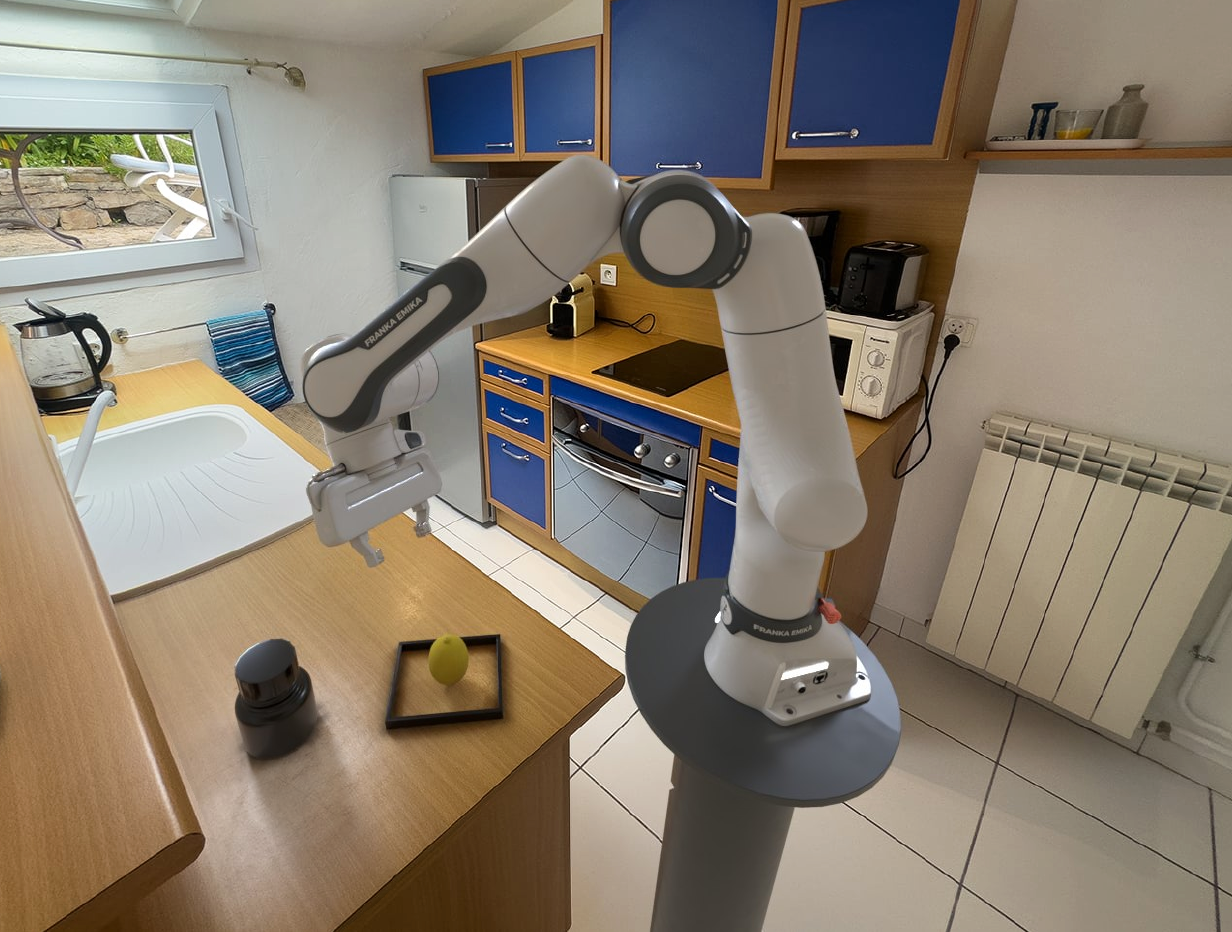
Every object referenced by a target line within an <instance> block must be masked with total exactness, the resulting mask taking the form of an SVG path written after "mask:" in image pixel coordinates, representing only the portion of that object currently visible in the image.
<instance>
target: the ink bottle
mask: <svg viewBox="0 0 1232 932" xmlns="http://www.w3.org/2000/svg"><path fill="white" fill-rule="evenodd" d="M298 659H299V658H298V655H297V649H296V646H295V645H293V643H292V642H291V641H290V640H287V639H283V638H269V639H267V640H263V641H259V642H258V643H256V644H254V645H253V646H251V647H248V648H247V650H245V651H244V652H243V654H241V655H240V656H239V657H238V660H237V661H236V663H235V665H234V678H235V681H236V684H237V688H238V693H237V696H236V698H235V700H234V701H235V703H234V714H235V718H236V721H237V725H238V729H239V732H240V736H241V739H242V742H243V746H244V749H245V750H246V752H247V753H248V754H249V755H250V756H251V757H253V758H255V759H259V760H272V759H277V758H281V757H285V756H286V755H289V754H291V753H292V752H294V751H297V750H298V749H299V748H300V747H302V746H303V745H304V744H305V743H306V742H307V741H308V740H309V739H310V737H311V736H312V734H313V732H314V731H315V729H316V726H317V723H318V719H319V714H318V705H317V701H316V696H315V692H314V687H313V682H312V678H311V675H310V674H309V672H308V671H307V670H306V669H305V668H304V667H302V666H301V665H300V664H299V660H298Z"/></svg>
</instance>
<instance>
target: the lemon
mask: <svg viewBox="0 0 1232 932" xmlns="http://www.w3.org/2000/svg"><path fill="white" fill-rule="evenodd" d="M459 637H460V636H458V635H456V634H451V633H450V634H449V633H447V634H443V635H441V636H439V637H438V638H436V639H437V640H436V641H435V642H434V643H433V645H432V647H431V649H430V650H429V653H428V659H427V660H428V661H427V662H428V669H429V672H430V675H431V677H432V678H433V679H434V680H435V682H437V683H439V684H440V685H444V686H451V685H454V684H457V683H458V682H460V681H461V680H462V679H463V677H464V676H465V675H466V673H467V670H468V668H469V661H470V659H469V651H468V647H466V645H465V643H464V642H463V640H462V639H461V638H459Z"/></svg>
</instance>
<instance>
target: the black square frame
mask: <svg viewBox="0 0 1232 932" xmlns="http://www.w3.org/2000/svg"><path fill="white" fill-rule="evenodd" d="M458 637H459V638H461V639H462V640H463V642H464V643H465V645H466V648H469V647H479V646H480V647H482V646H494V645H496V660H497V661H496V664H497V666H496V669H497V707H490V708H481V709H479V708H478V709H469V710H457V711H445V712H435V713H425V714H415V715H414V714H413V715H403V716H394V711H395V705H396V699H397V694H398V686H399V681H400V675H401V669H402V668H401V667H402V661H403V655H404V652H405V653H406V652H416V651H417V652H418V651H430V649H431V647H432V645H433V643H434V642H435V641H436V640H437V639H438V638H431V639H430V638H429V639H418V640H417V639H415V640H406V641H405V640H404V641H403V640H402V641H399V642H398V645H397V650H396V656H395V660H394V661H395V662H394V668H393V672H392V673H393V674H392V679H391V685H390V691H389V696H388V703H387V708H386V712H385V713H386V715H385V718H384V719H385V720H384V725H385V730H386V731H389V730H400V729H409V728H411V729H412V728H420V727H432V726H443V725H452V724H463V723H475V722H485V721H496V720H504V700H503V695H504V694H503V671H502V670H503V669H502V667H503V666H502V640H501V638H502V637H501V633H496V634H494V633H493V634H480V635H471V636H458Z"/></svg>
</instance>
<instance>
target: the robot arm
mask: <svg viewBox="0 0 1232 932" xmlns="http://www.w3.org/2000/svg"><path fill="white" fill-rule="evenodd" d="M611 254H624V256H625V258H626V260H627V262H628V263H629V264H630V266H631V267H632V268H633V270H634V271H635V272H636V273H637V274H638V275H639V276H640V277H641V278H643V279H645V280H646V281H648V282H650V283H651V284H654V285H657V286H660V287H665V288H671V289H701V290H711V291H712V294H713V296H714V299H715V303H716V309H717V313H718V321H719V324H720V325H719V326H720V331H721V337H722V340H723V346H724V352H725V357H726V362H727V368H728V374H729V377H730V383H731V388H732V393H733V396H734V401H735V404H736V408H737V413H738V417H739V421H740V433H739V449H738V450H739V451H738V464H737V478H736V479H737V481H736V500H735V502H736V503H735V504H736V505H735V506H736V507H735V531H734V541H733V546H732V553H731V558H730V565H729V570H728V572H727V573H726V575H725V577H724V578H725V582H724V586H723V592H722V598H721V605H720V612H719V614H718V615H717V617H716V620H715V622H718V623H717V626H716V628H715V630H714V633H713V634H712V636H711V638H710V639H709V641H708V643H707V644H706V647H705V651H704V661H705V665H706V668H707V670H708V672H709V674H710V676H711V677H712V679H713V680H714V682H715V683H716V684H717V685H718V686H719V687H720V688H721V689H722V690H723V691H724V692H725V693H726V694H728V695H729V696H731V697H732V698H734V699H735V700H737V701H739V702H741V703H743V704H745V705H747V706H750V707H752V708H755V709H757V710H759V711H761V712H762V713H763V714H765V715H766V716H767V717H768V718H770V719H771V720H772V721H774V722H775V723H777V724H779V725H781V726H789V725H792V724H795V723H799V722H802V721H805V720H808V719H811V718H814V717H817V716H820V715H823V714H827V713H830V712H833V711H836V710H839V709H842V708H845V707H848V706H851V705H854V704H858V703H861V702H864V701H867V700H869V699H870V698H871V683H870V679H869V676H868V674H867V672H866V670H865V668H864V666H863V664H862V663H861V661H860V659H859V658H858V656H857V655H856V651H855V648H854V645H853V643H852V641H851V639H850V637H849V635H848V634H847V632H846V631H845V629H844V628H843V627H842V625H841V624H840V623H839V622H838V621H840V622H841V619H842V614H841V612H840V611H839V610H837V609H838V607H837V605H836V604H835V602H834V600H833V598H831V597H830V598H829V597H828V598H827V597H824V594H823V592H821V590H820V589H819V583H820V581H821V575H822V571H823V567H824V562H825V557H826V552H829V551H834V550H837V549H839V548H842V547H844V546H846V545H848V544H849V543H850V542H852V541H853V540H855V539H856V538H857V536H859V535H860V533H861V532H862V531H863V529H864V527H865V525H866V522H867V520H868V504H867V500H866V496H865V491H864V488H863V484H862V481H861V477H860V473H859V469H858V465H857V464H858V463H857V459H856V455H855V450H854V445H853V442H852V437H851V433H850V429H849V427H848V426H849V425H848V422H847V418H846V414H845V410H844V405H843V403H842V399H841V395H840V391H839V388H838V385H837V380H836V376H835V370H834V369H835V368H834V363H833V354H832V348H831V340H830V334H829V324H828V317H827V308H826V301H825V294H824V289H823V284H822V280H821V275H820V271H819V267H818V266H819V265H818V263H817V259H816V256H815V253H814V249H813V246H812V244H811V241H810V238H809V237H808V233H807V230H806V228H805V227H804V225H803V224H802V223H801V222H800V221H799V220H797V218H795V217H792V216H790V215H787V214H782V213H776V212H764V213H763V212H762V213H757V214H753V215H750V216H742V215H741V214H740V213H739V212H738V210H737V209H735V207H734V206H733V205H732V204H731V202H730V201H729V200H728V199H727V197H726V196H725V194H723V193H722V192H721V191H720V190H719V189H718V188H717V187H716V186H715V184H714V183H712V182H711V181H710V180H709V179H708V178H706V177H705V176H703V175H701V174H699V173H697V172H695V171H691V170H686V169H669V170H664V171H662V172H657V173H654V174H653V173H652V174H650V175H645V176H640V177H636V178H631V179H627V180H626V181H625V180H624V179H623V178H621V177H620V176H619V175H618V173H616V171H615V170H614V169H613V168H612V167H611V166H610V165H608V163H606V162H605V161H603V160H601V159H599V158H598V157H595V156H592V155H590V154H583V153H580V154H573V155H570V156H568V157H567V158H565V159H564V160H562V161H561V162H559V163H558V164H556V165H554V166H553V167H552V168H550V169H549V170H546V171H545V172H544V173H543V174H541V175H540V176H539V177H537V178H536V179H535V180H534V181H532V182H531V183H530V184H529V185H527V186H526V187H525V188H524V189H523V190H521V191H520V192H519V193H518V194H517V195H516V196H514V198H513V199H512V200H510V201H509V202H508V203H507V204H506V205H505V206H504V207H503V208H502V209H501V210H500V211H499V212H497V214H496V215H495V216H494V217H492V219H490V220H489V221H488V222H487V224H485V226H483V227H482V228H481V229H480V230H479V231H478V232H477V233H476V234H475V235H474V236H472V237H471V238H470V239H469V240H468V241H466V243H465V244H464V245H462V246H461V248H459V249H458V250H456V252H454V253H453V254H452V255H450V256H449V257H448V258H447V259H446V260H444V261H443V262H442V263H441V264H439V265H438V266H437V267H436V268H435V269H433V270H432V271H430V272H429V273H427V274H426V275H425V276H423V277H422V278H421V279H420V280H419V281H417V282H416V283H415V284H414V285H412V286H411V287H410V288H408V290H406V291H404V293H402V295H401V296H399V297H398V298H397V299H395V300H394V301H393V302H392V303H391V304H389V306H387V307H386V308H385V309H384V310H383V311H381V312H380V313H379V314H378V315H377V316H376V317H374V318H373V319H372V320H371V321H370V322H368V323H367V324H366V325H365V326H364V327H362V328H361V329H360V330H359V331H357V332H356V333H355V334H354V335H353V334H350V333H336V334H332V335H328V336H327V337H325V338H322V339H319V340H317V341H315V342H314V343H312V344H310V345H309V346H308V347H307V348H306V349H305V350H304V352H303V353H302V354H301V356H300V374H301V378H302V383H301V384H302V385H301V386H302V396H303V399H304V402H305V404H306V407H307V408H308V410H309V411H310V413H311V414H312V415H313V416H314V417H315V419H317V421H318V422H319V424H320V426H321V428H322V430H323V437H324V438H323V439H324V445H325V447H326V451H327V453H328V456H329V458H330V460H331V463H332V466H331V467H329V468H327V469H325V470H323V471H318V472H316V473H314V474H313V475H311V479H309V481H308V483H307V485H306V487H305V492H306V496H307V499H308V501H309V504H310V506H311V507H310V508H311V512H312V517H313V521H314V525H315V529H316V533H317V537H318V539H319V541H320V543H321V544H323V545H324V546H325V547H327V548H334V547H339V546H342V545H344V544H346V543H348V542H349V544H350V546H351V548H352V549H354V550H355V551H356V552H357V553H358V554H359V555H361V556H363V558H364V560H365V563H366V566H367V568H369V569H372V568H376V567H378V566H379V565H381V564H382V563H384V562H385V556H384V554H383V551H382V549H381V548H378V549H375V548H374V547H373V546H372V545H371V544H370V543H369V542H368V541H370V539H371V538H370V535H369V532H370V531H371V530H373V529H375V528H377V527H378V526H380V525H382V524H384V523H386V522H387V521H389V520H391V519H393V518H395V517H396V516H399V515H401V514H403V513H405V512H406V511H408V510H410V509H411V510H412V513H415V515H416V516H415V517H416V518H415V519H416V520H415V521H416V522H415V523H416V524H415V525H414V526H412V529H413V531H414V532H415V536H416V537H417V538H418V539H421V538H424V537H426V536H428V535H429V534H431V533H432V532H433V531H432V530H433V529H432V527H431V524H430V522H429V520H430V508H431V506H430V503H429V501H428V500H429V499H430V498H433V497H434V496H437V495H438V494H440V493H441V492H442V490H443V489H442V488H443V480H442V476H441V474H440V471H439V469H438V466H437V464H436V461H435V458H434V456H433V454H432V453H431V452H430V450H429V449H428V448H426V447H424V446H425V445H426V444H427V440H426V437H425V434H424V433H423V432H422V431H419V430H405V429H398V428H397V429H394V427H393V425H392V422H391V420H390V418H393V417H396V416H399V415H402V414H404V413H408V412H411V411H414V410H416V409H419V408H421V407H423V406H424V405H425V404H427V403H428V402H430V401H431V400H432V399H433V398H434V396H435V395H436V393H437V390H438V388H439V382H440V372H439V370H440V369H439V366H438V363H437V360H436V359H435V357H434V355H433V353H432V352H431V350H432V349H433V348H435V347H436V346H438V344H440V343H441V342H443V341H444V340H446V339H447V338H448V337H450V336H452V335H454V334H456V333H458V332H461V331H463V330H466V329H468V328H470V327H471V328H472V327H474V326H478V325H481V324H484V323H489V322H492V321H496V320H503V319H506V318H511V317H514V316H515V317H516V316H520V315H523V314H525V313H527V312H529V311H531V310H532V309H534V308H536V307H538V306H540V305H542V304H543V303H545V302H546V301H548V300H549V299H551V298H552V297H554V296H556V295H557V294H558V293H560V292H561V291H562V290H563V289H565V287H567V286H568V285H569V284H570V283H571V282H572V281H574V280H575V279H576V278H577V277H578V276H579V275H580V274H581V273H582V272H583V271H585V270H586V269H587V268H588V267H589V266H590V265H592V264H593V263H595V262H597V261H598V260H599V259H602V258H603V257H605V256H608V255H611ZM861 679H862V680H861ZM787 712H789V713H791V714H789V713H787Z"/></svg>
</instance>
